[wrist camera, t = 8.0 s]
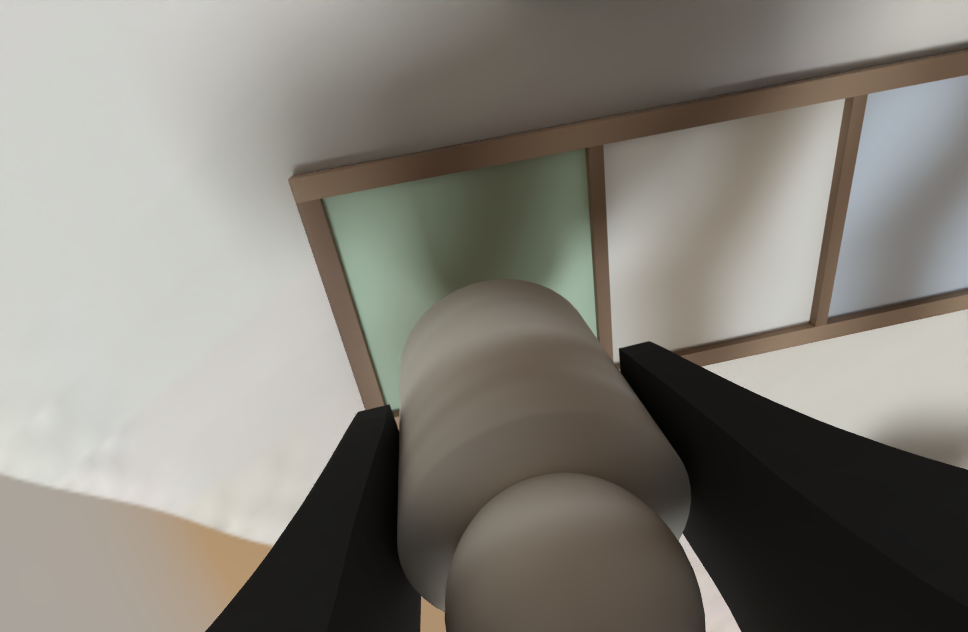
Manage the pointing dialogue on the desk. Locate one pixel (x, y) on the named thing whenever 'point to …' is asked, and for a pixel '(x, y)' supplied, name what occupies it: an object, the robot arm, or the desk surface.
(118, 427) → the desk surface
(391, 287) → the compartment tray
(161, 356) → the desk surface
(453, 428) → the pawn
